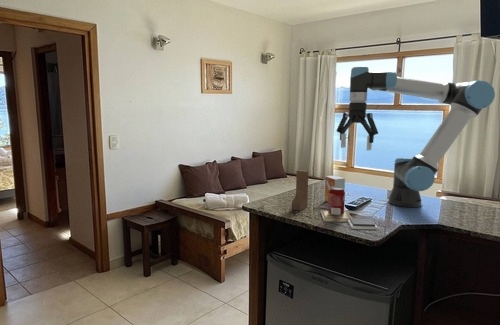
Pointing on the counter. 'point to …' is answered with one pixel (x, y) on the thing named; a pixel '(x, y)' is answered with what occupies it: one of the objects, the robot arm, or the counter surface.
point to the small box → (333, 184)
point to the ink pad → (362, 224)
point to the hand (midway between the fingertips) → (355, 148)
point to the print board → (328, 217)
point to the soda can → (336, 201)
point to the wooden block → (301, 191)
